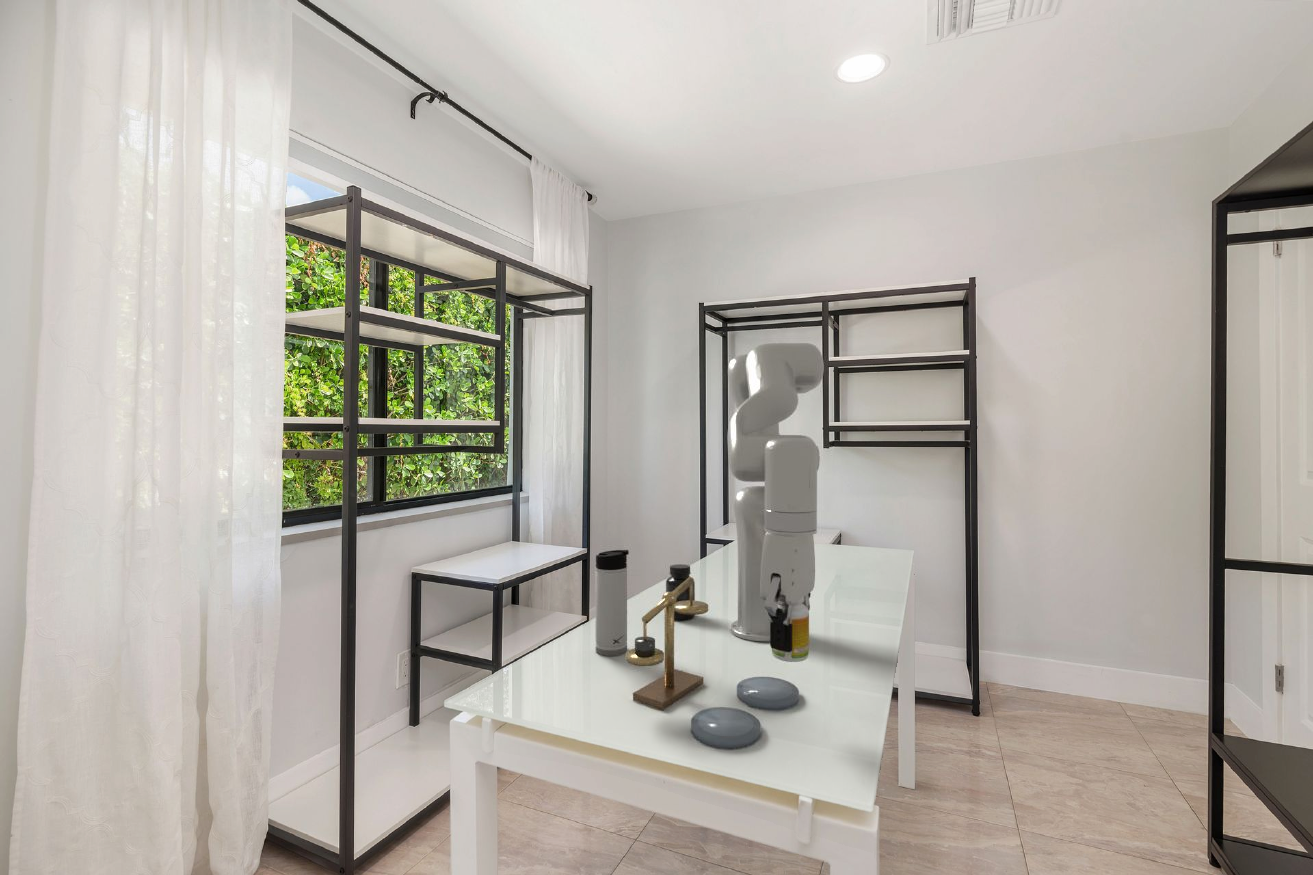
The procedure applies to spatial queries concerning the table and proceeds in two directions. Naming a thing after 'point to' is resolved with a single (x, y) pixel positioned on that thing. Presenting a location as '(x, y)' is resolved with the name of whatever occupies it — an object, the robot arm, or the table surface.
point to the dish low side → (725, 728)
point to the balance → (666, 652)
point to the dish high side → (767, 693)
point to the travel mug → (611, 602)
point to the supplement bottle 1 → (676, 579)
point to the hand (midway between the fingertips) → (789, 641)
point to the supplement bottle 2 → (796, 633)
